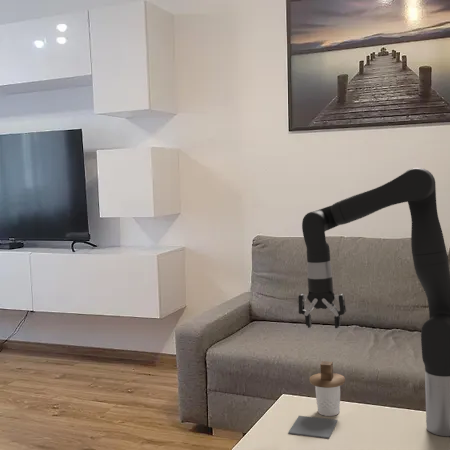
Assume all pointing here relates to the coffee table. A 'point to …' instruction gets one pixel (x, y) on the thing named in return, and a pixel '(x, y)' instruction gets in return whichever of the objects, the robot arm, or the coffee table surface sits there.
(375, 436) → the coffee table surface
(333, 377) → the lid
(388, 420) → the coffee table surface
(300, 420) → the mat
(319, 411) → the white cup
